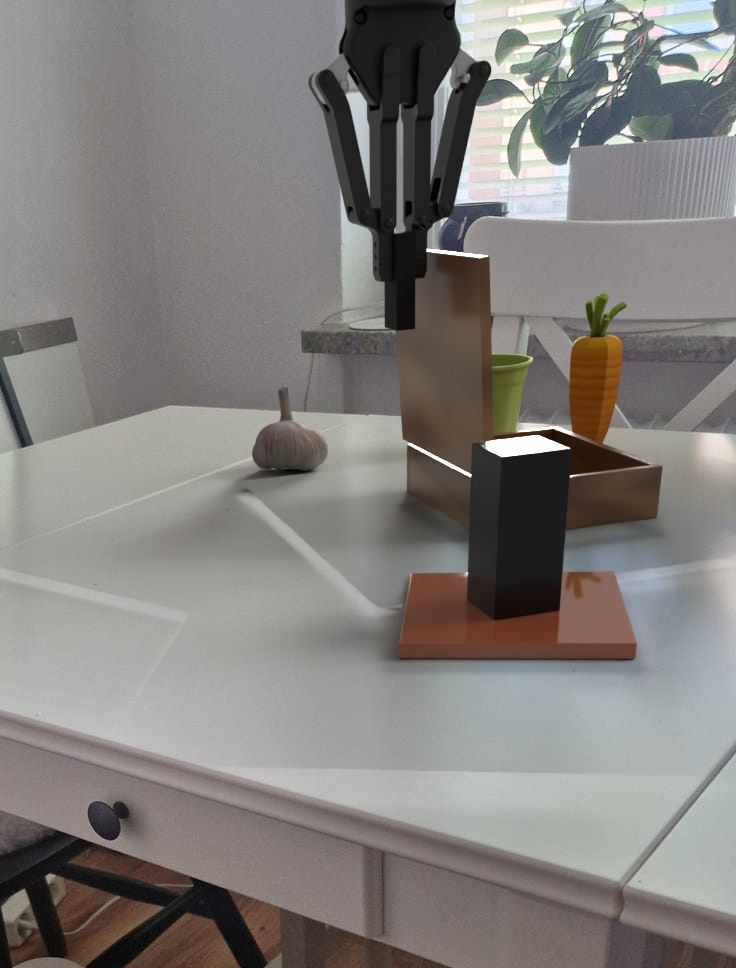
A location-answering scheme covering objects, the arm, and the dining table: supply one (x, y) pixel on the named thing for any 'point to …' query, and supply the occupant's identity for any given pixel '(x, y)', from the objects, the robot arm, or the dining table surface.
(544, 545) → the black block
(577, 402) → the carrot
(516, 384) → the plant pot
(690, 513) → the dining table surface
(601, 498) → the wooden box
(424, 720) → the dining table surface
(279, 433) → the garlic bulb
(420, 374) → the lid
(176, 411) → the dining table surface
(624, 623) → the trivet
